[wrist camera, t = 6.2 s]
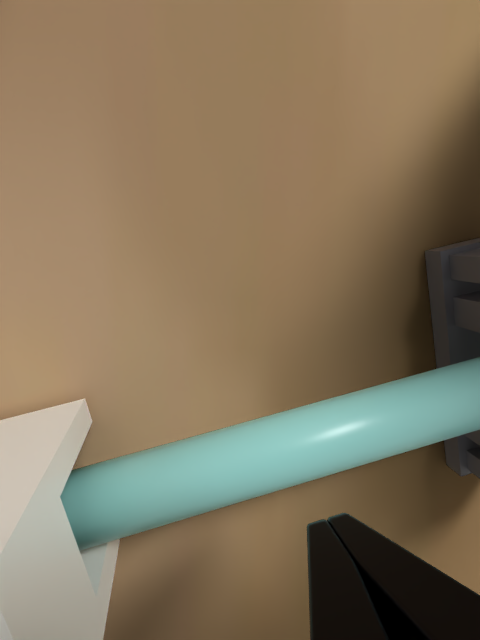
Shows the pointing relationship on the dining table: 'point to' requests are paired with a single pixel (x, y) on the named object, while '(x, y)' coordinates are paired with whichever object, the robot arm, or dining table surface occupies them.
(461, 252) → the grey ridged block
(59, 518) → the sleeve
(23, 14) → the dining table surface
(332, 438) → the teal cylindrical rod
